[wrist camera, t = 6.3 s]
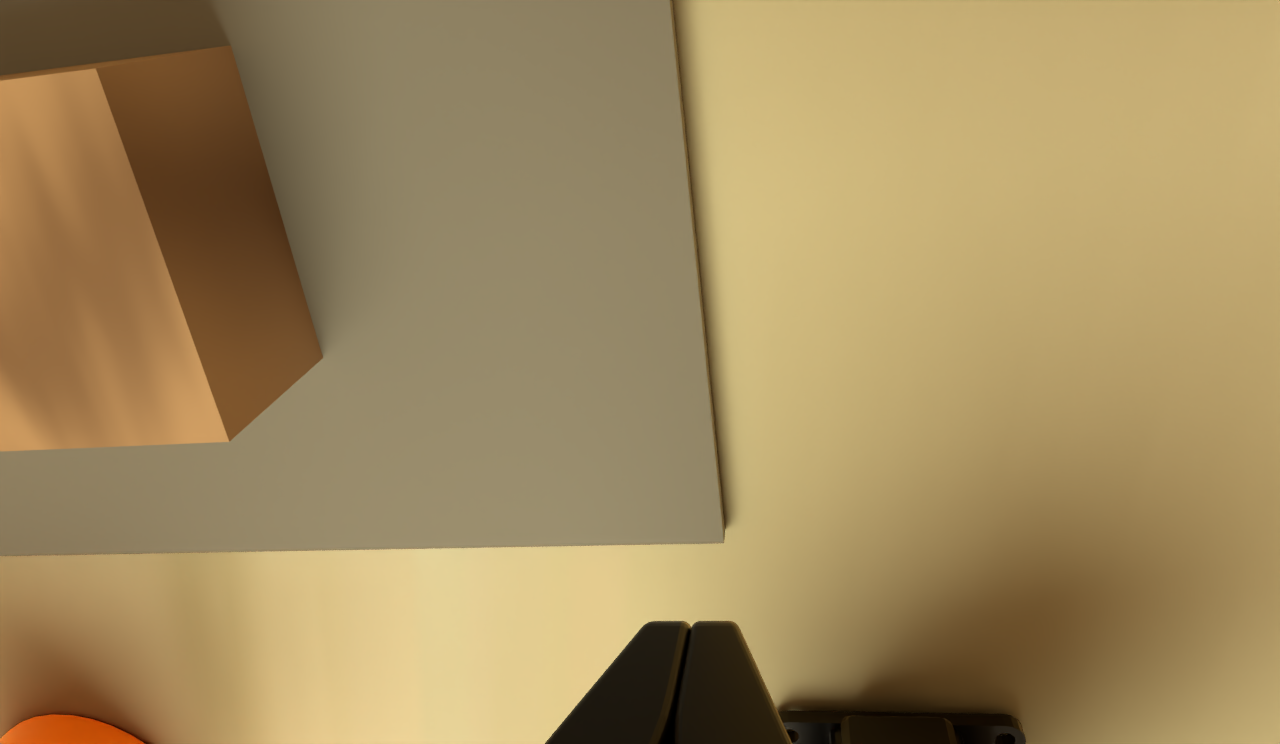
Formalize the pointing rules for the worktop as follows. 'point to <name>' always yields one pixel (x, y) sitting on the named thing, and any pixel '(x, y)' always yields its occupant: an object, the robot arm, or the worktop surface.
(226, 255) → the block
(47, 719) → the shaker bottle
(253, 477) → the mat
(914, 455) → the worktop surface
